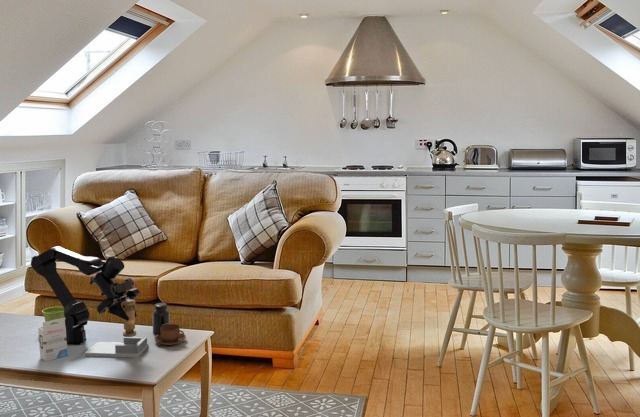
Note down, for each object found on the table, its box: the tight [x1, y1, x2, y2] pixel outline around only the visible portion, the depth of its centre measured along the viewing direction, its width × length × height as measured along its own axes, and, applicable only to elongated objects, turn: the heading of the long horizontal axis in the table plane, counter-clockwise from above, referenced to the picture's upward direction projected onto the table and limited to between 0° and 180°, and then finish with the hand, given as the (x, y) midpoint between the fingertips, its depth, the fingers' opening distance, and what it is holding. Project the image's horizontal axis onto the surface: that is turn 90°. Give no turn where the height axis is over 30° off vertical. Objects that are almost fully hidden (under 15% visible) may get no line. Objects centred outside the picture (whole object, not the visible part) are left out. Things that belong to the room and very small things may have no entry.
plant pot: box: [41, 306, 65, 325], centre depth 282 cm, size 9×9×9 cm
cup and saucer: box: [154, 323, 187, 346], centre depth 268 cm, size 12×12×6 cm
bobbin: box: [121, 299, 137, 338], centre depth 255 cm, size 5×5×13 cm
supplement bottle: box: [152, 302, 171, 336], centre depth 278 cm, size 7×7×12 cm
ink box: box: [37, 317, 68, 362], centre depth 251 cm, size 8×5×15 cm, turn 133°
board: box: [84, 336, 150, 358], centre depth 258 cm, size 20×12×4 cm, turn 85°
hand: (132, 318), depth 255 cm, fingers closed on bobbin, 4 cm apart
